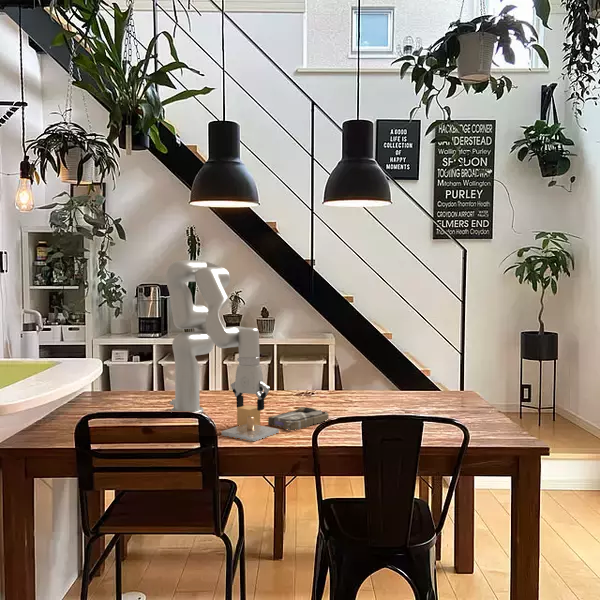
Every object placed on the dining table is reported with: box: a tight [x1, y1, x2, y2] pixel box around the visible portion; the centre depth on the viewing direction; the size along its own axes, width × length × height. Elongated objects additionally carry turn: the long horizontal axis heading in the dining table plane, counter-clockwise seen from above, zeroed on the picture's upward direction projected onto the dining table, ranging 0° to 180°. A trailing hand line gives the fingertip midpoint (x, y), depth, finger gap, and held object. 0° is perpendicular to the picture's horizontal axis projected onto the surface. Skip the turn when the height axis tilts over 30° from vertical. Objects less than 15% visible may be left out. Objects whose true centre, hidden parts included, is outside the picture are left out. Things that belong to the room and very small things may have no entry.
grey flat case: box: [267, 406, 329, 431], centre depth 248 cm, size 4×24×15 cm
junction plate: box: [221, 416, 280, 442], centre depth 229 cm, size 14×14×6 cm
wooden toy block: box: [236, 404, 261, 426], centre depth 242 cm, size 6×6×6 cm
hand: (250, 408), depth 242 cm, fingers open, 9 cm apart
